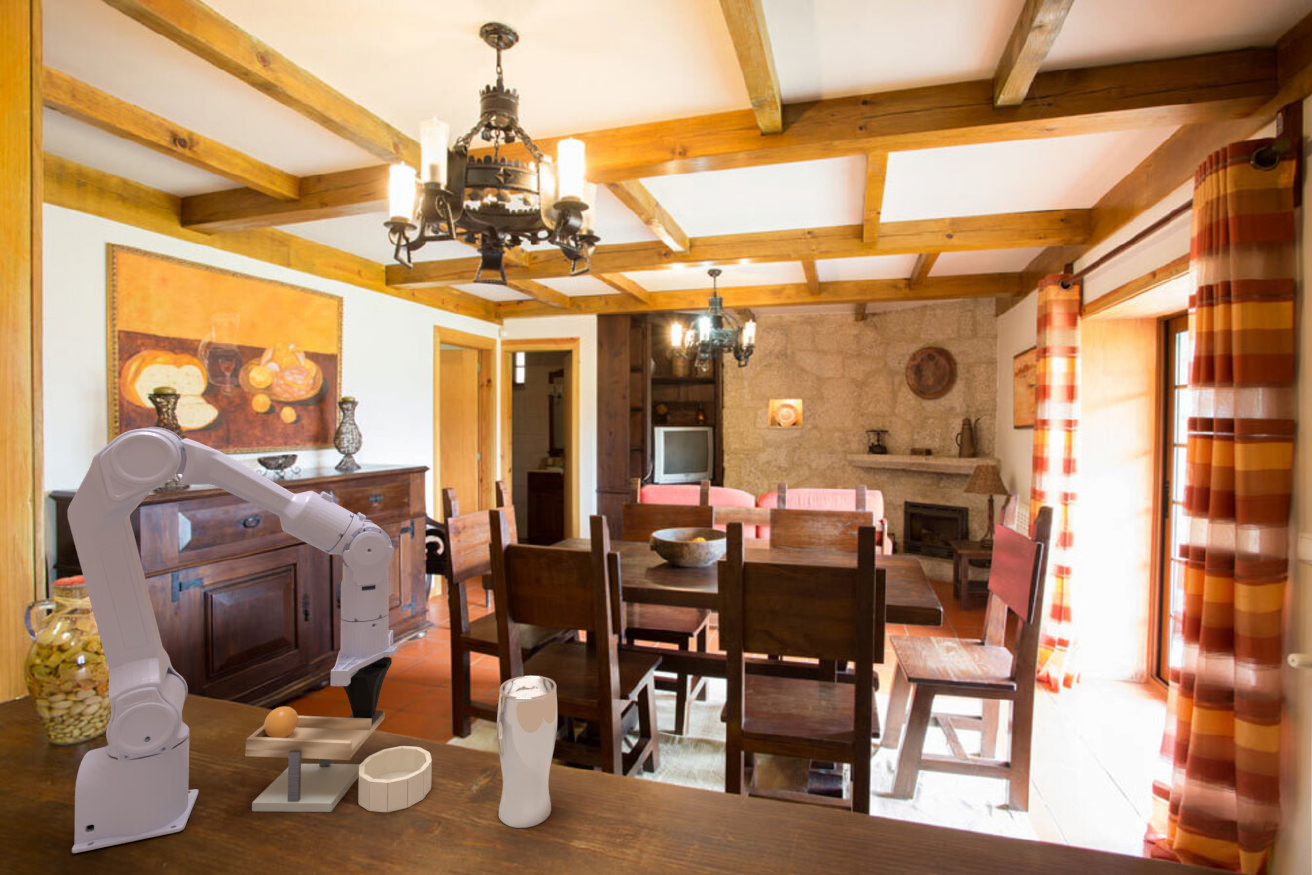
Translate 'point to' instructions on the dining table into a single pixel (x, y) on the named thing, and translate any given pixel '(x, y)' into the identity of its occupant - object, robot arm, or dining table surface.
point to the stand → (307, 786)
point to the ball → (281, 722)
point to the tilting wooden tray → (317, 737)
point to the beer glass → (526, 748)
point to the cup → (394, 778)
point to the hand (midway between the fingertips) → (364, 717)
